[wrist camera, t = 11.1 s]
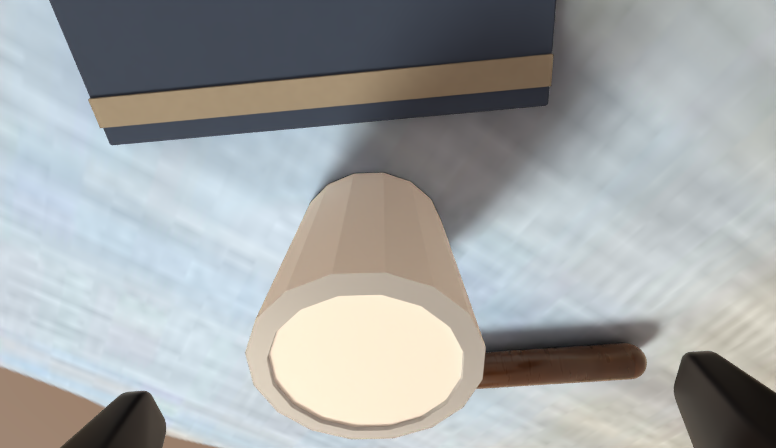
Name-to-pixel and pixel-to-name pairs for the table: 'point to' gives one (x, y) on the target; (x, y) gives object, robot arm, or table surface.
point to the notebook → (302, 62)
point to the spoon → (562, 365)
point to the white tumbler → (367, 316)
